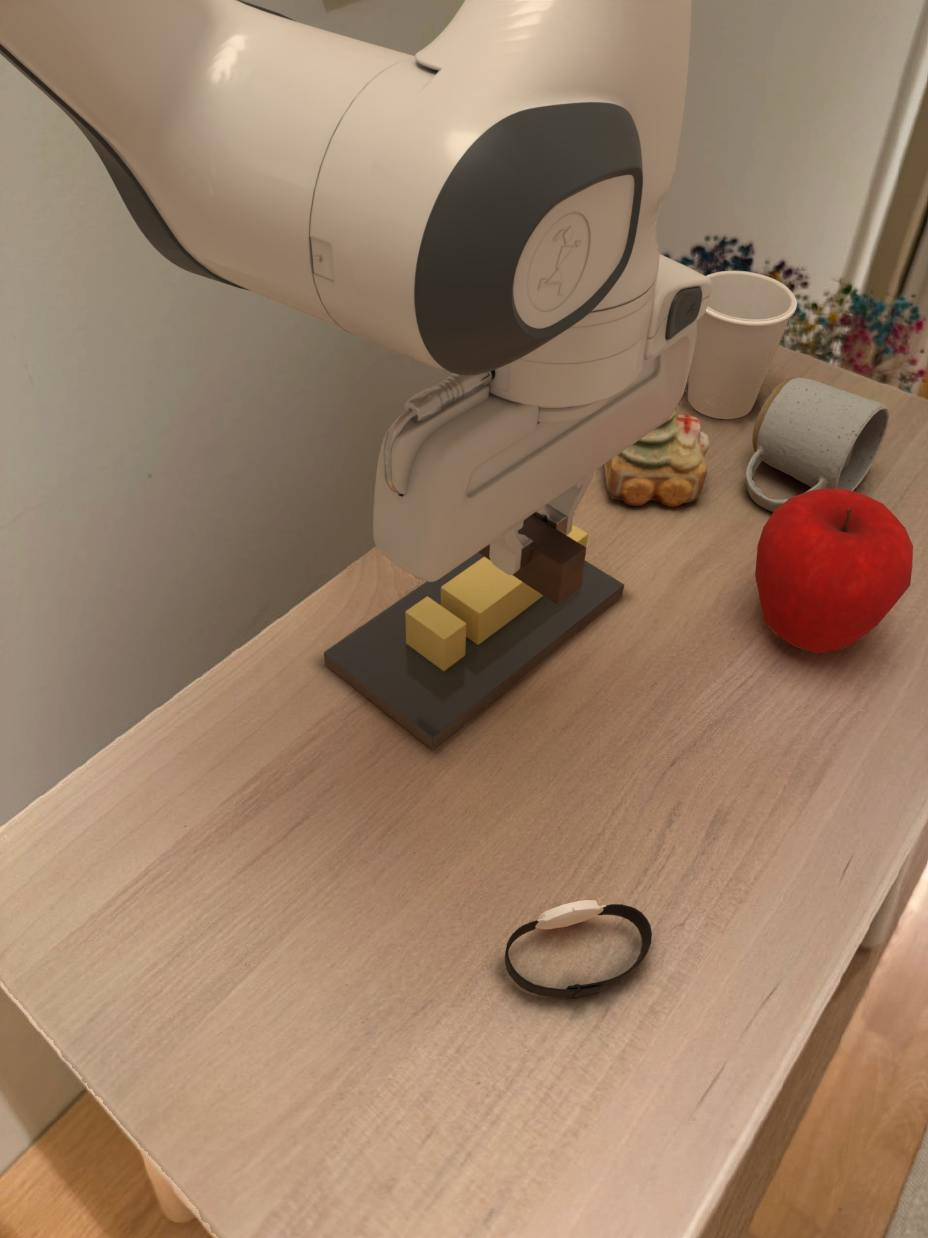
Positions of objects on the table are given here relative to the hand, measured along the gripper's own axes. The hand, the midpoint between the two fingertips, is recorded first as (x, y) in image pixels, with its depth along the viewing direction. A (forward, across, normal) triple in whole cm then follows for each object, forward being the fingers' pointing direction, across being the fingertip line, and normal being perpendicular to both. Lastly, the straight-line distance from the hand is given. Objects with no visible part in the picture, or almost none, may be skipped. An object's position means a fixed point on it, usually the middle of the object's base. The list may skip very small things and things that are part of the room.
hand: (530, 548), depth 58 cm
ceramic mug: (+14, +33, -1) cm, 36 cm away
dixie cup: (+14, +38, +10) cm, 42 cm away
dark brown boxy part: (+2, 0, +3) cm, 3 cm away
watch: (+13, -11, -14) cm, 22 cm away
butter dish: (+13, +3, +6) cm, 15 cm away
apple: (+14, +19, -10) cm, 25 cm away
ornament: (+14, +24, +7) cm, 29 cm away
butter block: (+12, +7, +6) cm, 15 cm away
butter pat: (+12, -1, +6) cm, 14 cm away
